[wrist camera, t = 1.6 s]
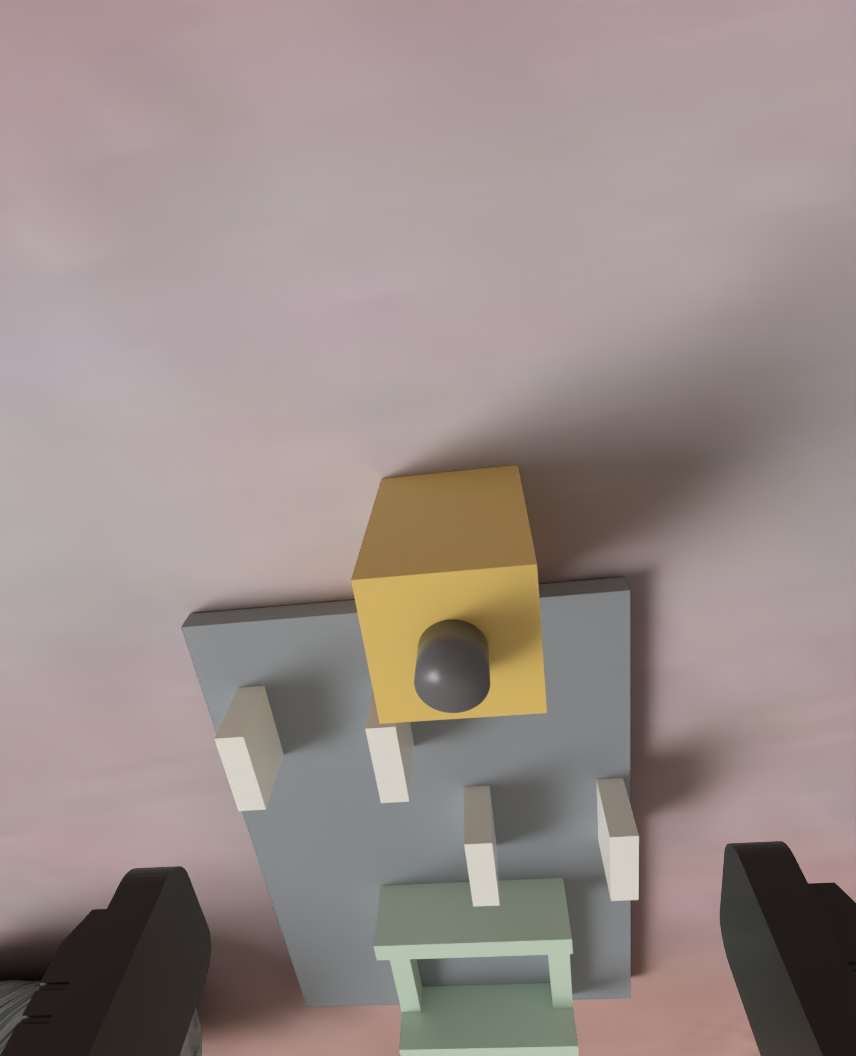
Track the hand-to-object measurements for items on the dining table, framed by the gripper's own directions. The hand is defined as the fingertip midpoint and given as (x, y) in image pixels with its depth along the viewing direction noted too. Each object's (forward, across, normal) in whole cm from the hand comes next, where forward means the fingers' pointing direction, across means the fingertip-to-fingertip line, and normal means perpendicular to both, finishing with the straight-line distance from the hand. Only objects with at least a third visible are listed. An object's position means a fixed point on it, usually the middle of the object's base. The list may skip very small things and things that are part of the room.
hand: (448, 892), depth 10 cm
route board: (+12, +2, +12) cm, 17 cm away
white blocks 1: (+11, +5, +6) cm, 13 cm away
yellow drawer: (+12, 0, 0) cm, 12 cm away
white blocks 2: (+11, -2, +11) cm, 16 cm away
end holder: (+11, +1, +18) cm, 21 cm away
